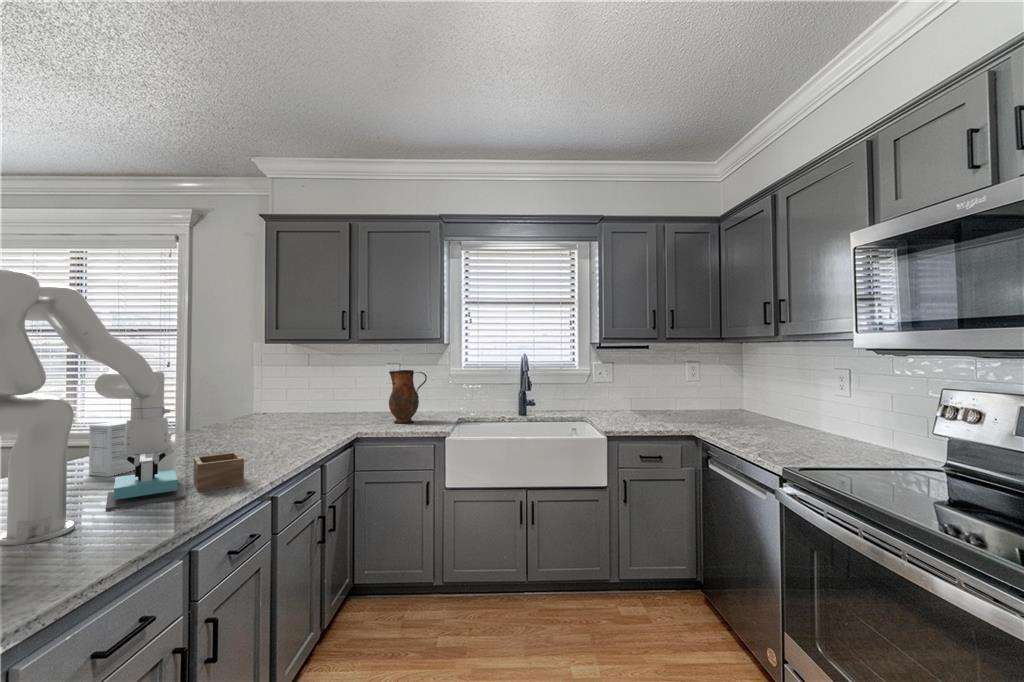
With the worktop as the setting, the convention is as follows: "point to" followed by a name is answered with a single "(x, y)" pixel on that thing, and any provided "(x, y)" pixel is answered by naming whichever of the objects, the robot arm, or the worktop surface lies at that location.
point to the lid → (145, 482)
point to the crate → (218, 471)
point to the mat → (143, 499)
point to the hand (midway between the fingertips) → (146, 477)
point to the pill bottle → (166, 458)
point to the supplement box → (107, 449)
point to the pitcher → (404, 396)
